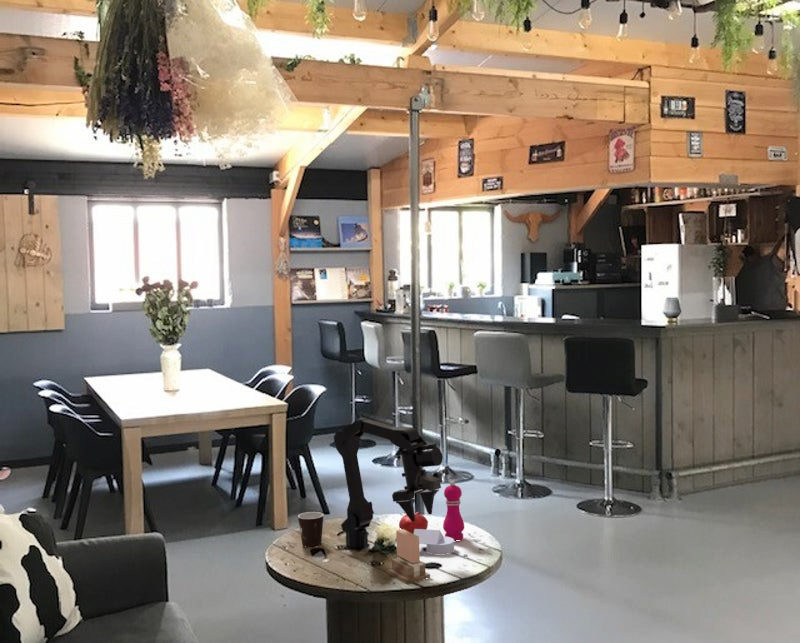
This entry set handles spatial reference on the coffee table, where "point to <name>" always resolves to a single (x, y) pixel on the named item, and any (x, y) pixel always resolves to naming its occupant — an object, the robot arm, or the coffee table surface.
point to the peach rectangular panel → (408, 546)
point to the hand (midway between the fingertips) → (421, 517)
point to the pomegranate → (413, 523)
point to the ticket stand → (407, 570)
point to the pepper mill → (453, 513)
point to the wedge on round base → (435, 541)
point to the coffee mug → (311, 528)
